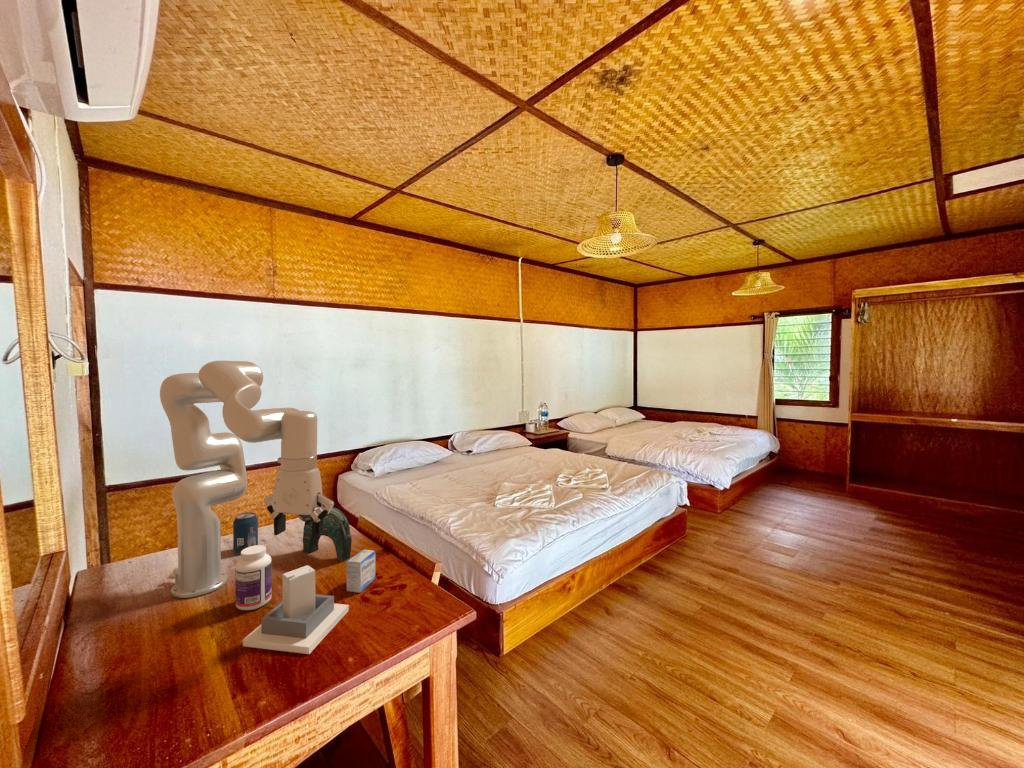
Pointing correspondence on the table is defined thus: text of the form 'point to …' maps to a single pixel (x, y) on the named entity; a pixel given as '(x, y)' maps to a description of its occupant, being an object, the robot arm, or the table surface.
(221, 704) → the table surface
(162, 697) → the table surface
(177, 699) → the table surface
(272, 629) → the socket stand
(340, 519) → the spotted teal figurine
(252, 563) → the pill bottle
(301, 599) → the skincare box
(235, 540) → the soda can
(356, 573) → the medicine box
